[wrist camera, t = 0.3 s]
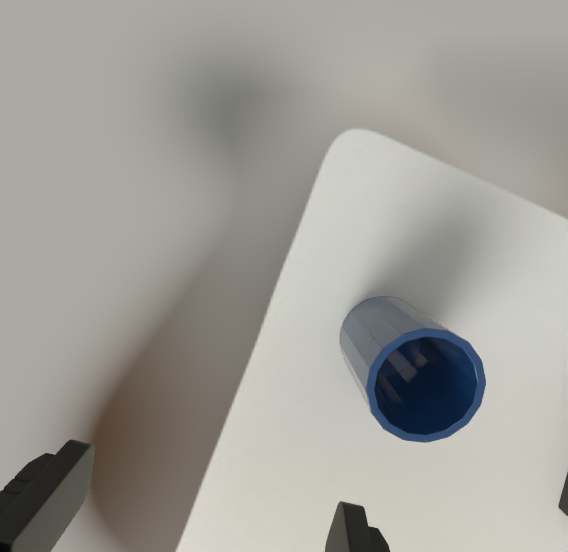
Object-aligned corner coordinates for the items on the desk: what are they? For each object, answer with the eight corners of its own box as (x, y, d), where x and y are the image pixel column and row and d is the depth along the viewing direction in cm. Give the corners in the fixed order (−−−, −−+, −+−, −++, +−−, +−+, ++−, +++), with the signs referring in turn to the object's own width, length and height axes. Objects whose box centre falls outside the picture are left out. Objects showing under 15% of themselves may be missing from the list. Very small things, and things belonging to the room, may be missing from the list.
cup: (346, 290, 30) (378, 321, 21) (431, 302, 31) (497, 337, 22) (333, 373, 31) (357, 435, 22) (415, 383, 32) (471, 448, 23)
